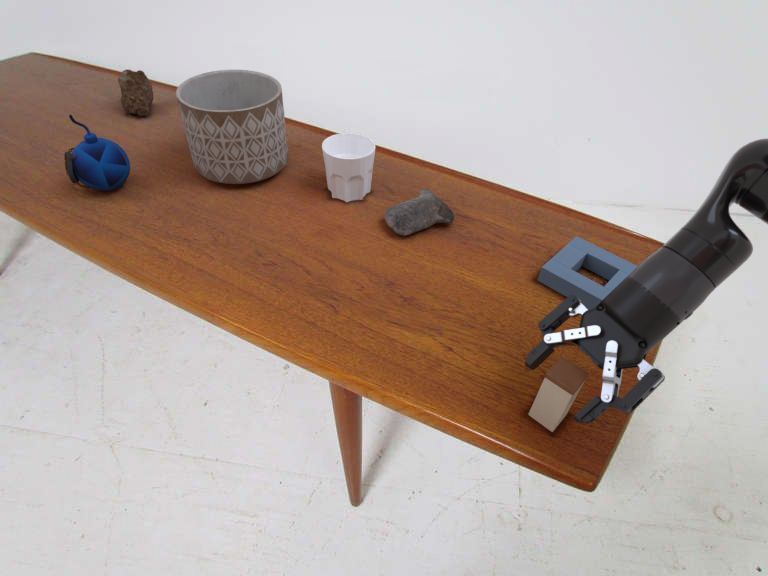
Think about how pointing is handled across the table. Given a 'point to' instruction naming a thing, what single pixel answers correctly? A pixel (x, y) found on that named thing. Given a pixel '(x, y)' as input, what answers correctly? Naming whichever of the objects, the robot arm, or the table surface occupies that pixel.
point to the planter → (234, 125)
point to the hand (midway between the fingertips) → (552, 393)
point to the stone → (418, 213)
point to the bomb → (97, 162)
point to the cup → (348, 165)
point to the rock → (135, 92)
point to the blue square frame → (583, 253)
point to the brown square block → (557, 393)
